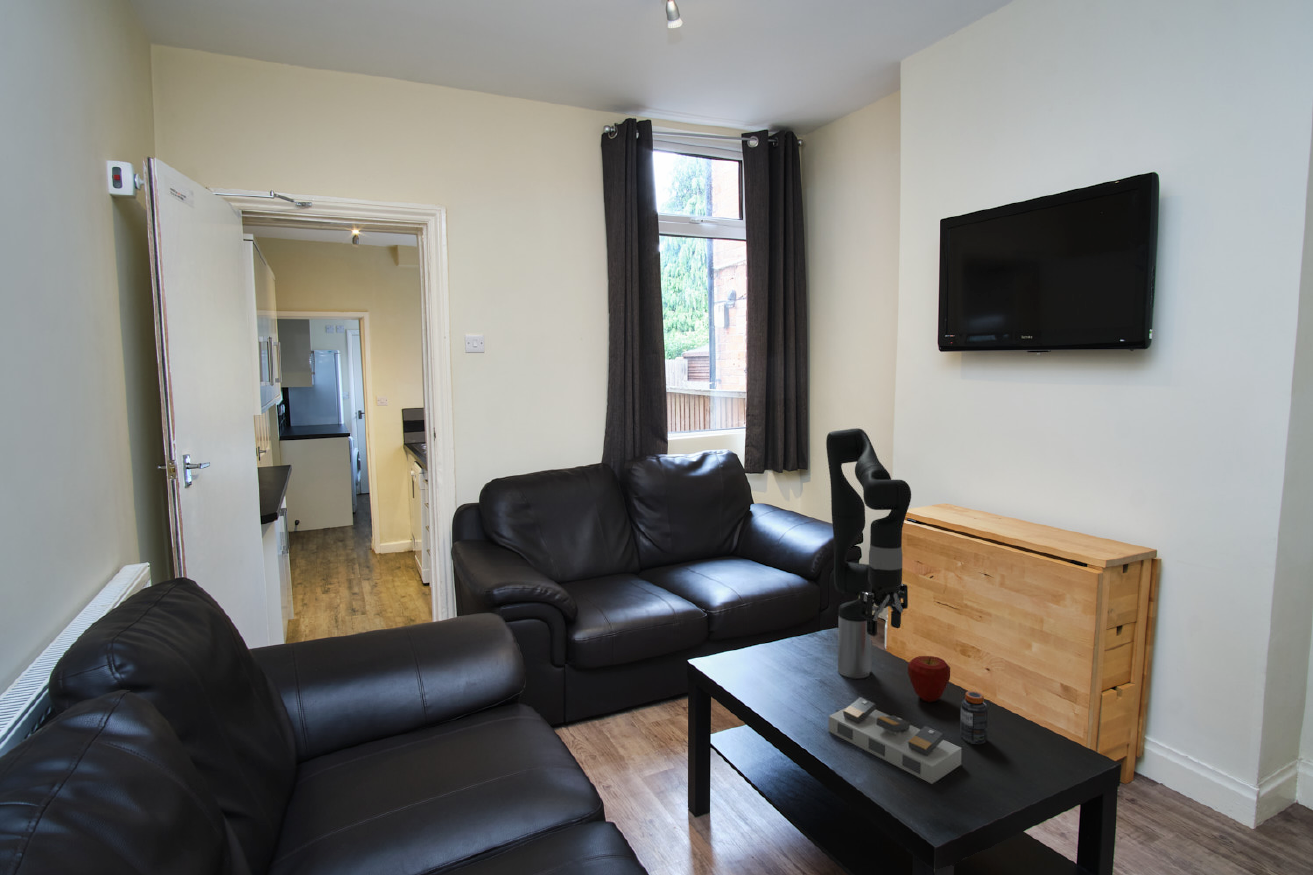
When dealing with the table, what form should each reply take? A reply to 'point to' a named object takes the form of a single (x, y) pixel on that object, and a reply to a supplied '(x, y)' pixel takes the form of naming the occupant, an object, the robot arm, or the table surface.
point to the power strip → (896, 746)
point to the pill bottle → (974, 718)
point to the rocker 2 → (893, 723)
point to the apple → (929, 676)
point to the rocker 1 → (859, 710)
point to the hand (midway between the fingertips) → (883, 631)
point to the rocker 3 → (926, 740)
